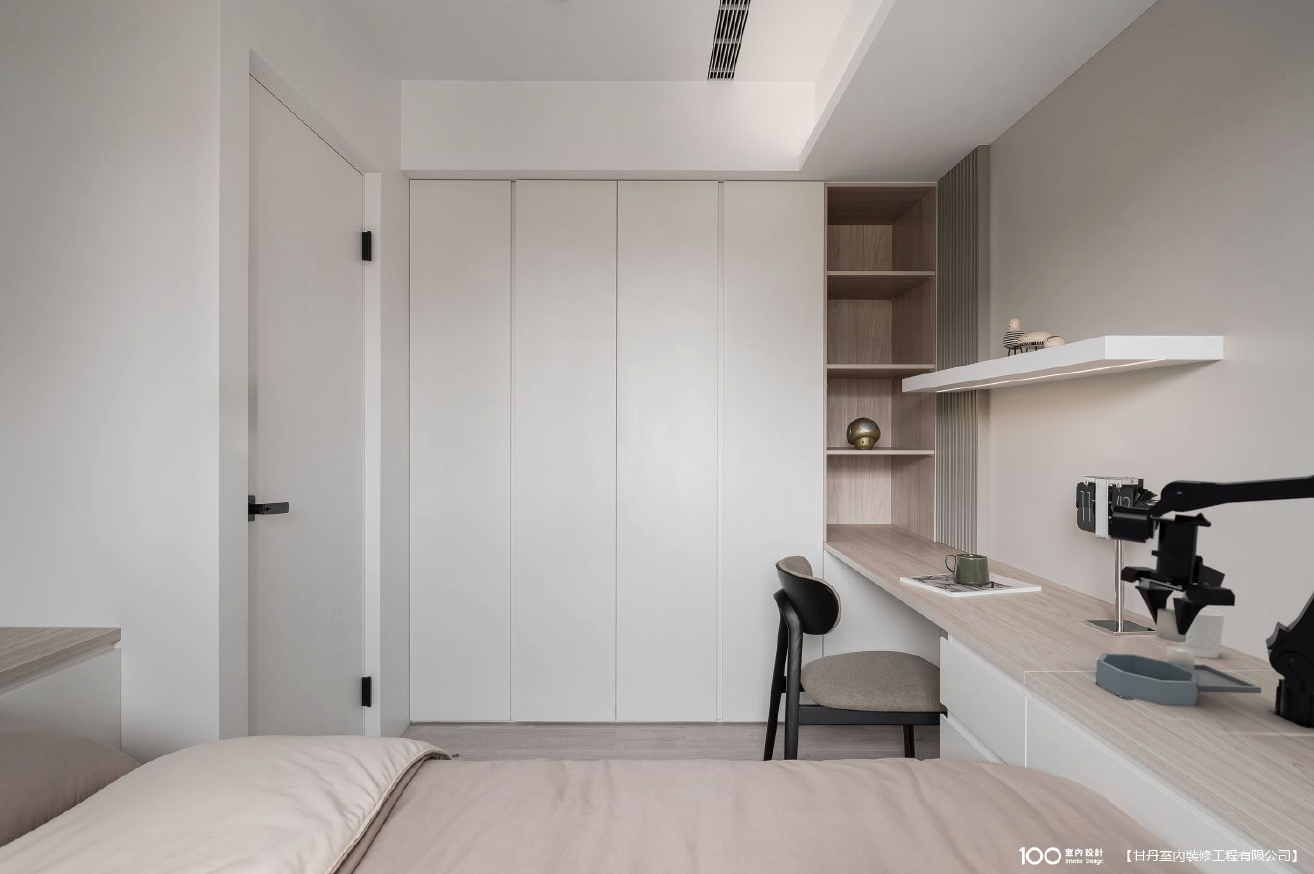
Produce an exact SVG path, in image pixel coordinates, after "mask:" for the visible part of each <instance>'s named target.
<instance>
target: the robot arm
mask: <svg viewBox="0 0 1314 874" xmlns="http://www.w3.org/2000/svg"><path fill="white" fill-rule="evenodd" d="M1300 499H1301V500H1302V499H1314V474H1311V475H1306V476H1294V477H1282V478H1268V479H1255V480H1244V481H1243V480H1242V481H1229V482H1215V481H1202V480H1201V481H1200V480H1188V479H1187V480H1184V479H1178V480H1173V481H1171V482H1169V483H1167V484H1166V485H1165V486H1164V487H1162V489H1161V491H1160V499H1158V501H1156V502H1155V503H1152V504H1150V506H1149V507H1150V508H1144V507H1133V506H1127V505H1123V504H1115V505H1114V506H1113V513H1112V518H1111V521H1110V528H1109V531H1110V532H1109V536H1110V539H1111V540H1116V541H1125V542H1133V543H1141V544H1147V542H1148V541H1149V539H1150V540H1155V532H1156V522H1158V523H1159V524H1158V534H1157V535H1158V539H1157V548H1156V549H1151V552H1150V553H1151V554H1150V555H1151V556H1152V557H1156V566H1155V567H1156V568H1155V569H1154V568H1152V567H1151V568H1150V567H1147V566H1128V565H1127V566H1124V567H1123V568H1122V569H1121V570H1120V571H1121V572H1120V581H1124V582H1126V583H1130V584H1135V583H1136V582H1137V581H1138V584H1137V585H1134V589H1135V590H1138V592H1139V594H1140V596H1141V598H1142V599H1143V601H1144V603H1145V605H1146V607H1147V609H1148V611H1149V613H1150V615H1151V617H1152V619H1153V622H1154V624H1155V626H1156V627H1157V614H1158V609H1159V608H1166V609H1167V603H1168V602H1167V601H1168V598H1169V597H1170V596H1172V594H1173V593H1174V591H1176V592H1180V593H1183V594H1182V597H1172V602H1173V610H1175V617H1176V625H1177V629H1178V633H1179V635H1186V633H1187V631H1188V630H1189V628H1190V626H1191V624H1192V623H1193V621H1194V619H1195V617H1196V616H1197V614H1198V613H1199V612H1200V610H1201V609H1203V608H1207V607H1208V606H1213V607H1214V606H1216V607H1219V606H1220V607H1221V606H1223V607H1235V605H1236V594H1235V593H1234V592H1233V590H1232V589H1231V588H1226V587H1224V586H1222V585H1223V582H1224V580H1225V576H1226V573H1223V572H1222V571H1219V570H1216V568H1215V569H1214V568H1212V567H1211V566H1210V567H1209V566H1207V565H1205V564H1204V558H1203V556H1202V555H1199V554H1197V548H1198V547H1197V546H1198V537H1199V536H1198V534H1199V527H1205V528H1211V526H1212V522H1211V521H1210V520H1208V519H1207V518H1206V517H1205V515H1204V514H1203V512H1199V513H1197V514H1196V515H1188V514H1177V513H1188V512H1193V511H1197V510H1202V509H1207V508H1211V507H1215V506H1220V505H1224V504H1234V503H1236V504H1237V503H1246V502H1247V503H1250V502H1251V503H1252V502H1267V501H1281V500H1282V501H1284V500H1300ZM1171 512H1175V513H1176V514H1175V515H1174V518H1169V517H1168V518H1167V517H1166V518H1165V517H1161V516H1164V515H1166V514H1168V513H1171ZM1157 516H1158V517H1157ZM1265 645H1266V646H1265V647H1266V649H1267V656H1268V662H1269V664H1270V666H1271V668H1272V669H1273V670H1274V671H1275V672H1276V673H1277V674H1279V675H1280V676H1282V677H1283V678H1279V679H1278V686H1276V689H1275V690H1276V692H1275V704H1274V705H1275V707H1274V708H1275V709H1274V710H1268V711H1267V712H1268V713H1271V714H1273V715H1275V716H1277V717H1280V718H1282V719H1284V720H1285V721H1286V720H1287V721H1288V722H1291V723H1293V724H1295V725H1297V726H1300V727H1302V728H1306V729H1314V591H1313V592H1312V594H1311V595H1310V597H1309V598H1308V600H1307V602H1306V603H1305V605H1304V607H1303V608H1302V610H1301V611H1300V613H1299V615H1298V616H1297V617H1296V619H1294V620H1293V621H1292V622H1291V623H1289V624H1288V625H1284V624H1283V623H1281V622H1280V621H1277V622H1276V624H1275V627H1274V630H1273V633H1272V634H1271V635H1270V636H1269V637H1267V638H1266V639H1265Z"/></svg>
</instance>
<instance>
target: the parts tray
mask: <svg viewBox="0 0 1314 874" xmlns="http://www.w3.org/2000/svg"><path fill="white" fill-rule="evenodd" d="M1194 673H1196V674H1199V680H1198V692H1216V693H1218V692H1220V693H1224V692H1225V693H1253V694H1254V693H1255V694H1256V693H1259V694H1261V693H1262V687H1260V686H1258V685H1256V684H1253V683H1251V682H1248V681H1246V680H1243V679H1241V678H1238V677H1236V676H1234V675H1231V674H1229V673H1227V672H1224V671H1221V670H1219V669H1217V668H1214V667H1212V666H1210V665H1207V664H1199V663H1198V664H1197V663H1194Z"/></svg>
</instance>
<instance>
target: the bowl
mask: <svg viewBox="0 0 1314 874" xmlns="http://www.w3.org/2000/svg"><path fill="white" fill-rule="evenodd" d="M1095 671H1096V674H1095V675H1096V676H1095V684H1096V683H1097V684H1098V685H1097V684H1096V685H1097V686H1099V685H1100V686H1099V687H1101V686H1103V687H1104V688H1106V689H1108V690H1110V691H1111V692H1110V691H1109V692H1110V693H1112V692H1113V693H1116V694H1117V695H1119V696H1121V697H1120V698H1122V697H1124V698H1123V699H1126V698H1127V700H1130V699H1131V700H1130V701H1134V700H1135V699H1139V700H1143V701H1147V702H1150V703H1154V704H1158V705H1164V706H1165V705H1168V706H1171V705H1172V706H1173V705H1174V706H1196V703H1197V702H1196V701H1197V698H1198V695H1199V694H1198V693H1199V691H1198V680H1199V674H1196V673H1194V672H1192V671H1189V670H1187V669H1185V668H1182V667H1180V666H1178V665H1175V664H1173V663H1171V662H1166V660H1161V659H1156V658H1152V657H1146V656H1142V655H1138V654H1133V653H1110V652H1109V653H1104V652H1102V654H1101V655H1100V656H1099V658H1098V659H1097V660H1096V670H1095ZM1103 687H1102V688H1103ZM1104 688H1103V689H1104ZM1106 689H1105V690H1106ZM1108 690H1107V691H1108ZM1113 693H1112V694H1113ZM1117 695H1116V696H1117ZM1119 696H1118V697H1119Z"/></svg>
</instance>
